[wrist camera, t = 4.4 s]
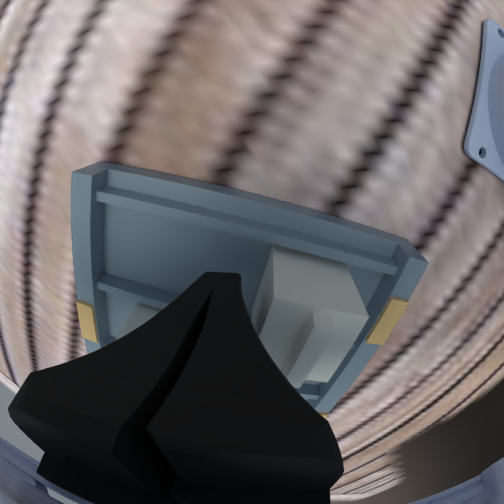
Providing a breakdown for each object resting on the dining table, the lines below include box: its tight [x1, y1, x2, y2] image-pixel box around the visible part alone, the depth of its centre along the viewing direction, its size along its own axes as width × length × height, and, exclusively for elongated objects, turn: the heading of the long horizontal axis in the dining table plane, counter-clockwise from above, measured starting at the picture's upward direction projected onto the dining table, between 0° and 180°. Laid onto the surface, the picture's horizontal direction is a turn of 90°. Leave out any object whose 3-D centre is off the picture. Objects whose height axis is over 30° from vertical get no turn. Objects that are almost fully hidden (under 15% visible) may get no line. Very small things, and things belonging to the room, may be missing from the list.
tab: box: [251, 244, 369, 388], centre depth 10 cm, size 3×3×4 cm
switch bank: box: [71, 161, 428, 418], centre depth 13 cm, size 14×14×2 cm
